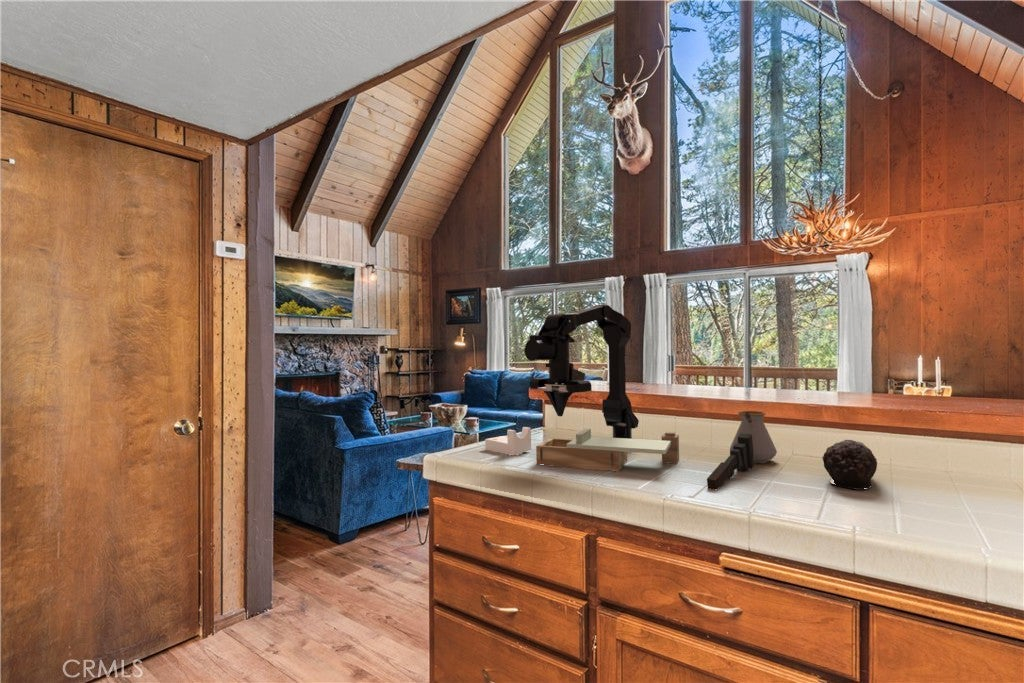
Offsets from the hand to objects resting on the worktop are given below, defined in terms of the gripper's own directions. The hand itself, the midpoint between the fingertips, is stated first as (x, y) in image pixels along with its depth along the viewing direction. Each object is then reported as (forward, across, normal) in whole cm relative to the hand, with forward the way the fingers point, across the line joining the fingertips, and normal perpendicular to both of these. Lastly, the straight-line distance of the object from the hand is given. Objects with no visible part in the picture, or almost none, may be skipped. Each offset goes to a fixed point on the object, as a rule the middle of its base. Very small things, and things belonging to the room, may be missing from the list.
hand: (560, 416), depth 145 cm
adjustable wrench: (+13, -40, -17) cm, 45 cm away
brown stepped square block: (+12, -21, -21) cm, 32 cm away
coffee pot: (+13, -38, -32) cm, 51 cm away
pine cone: (+13, -60, -32) cm, 69 cm away
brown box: (+12, -5, -3) cm, 14 cm away
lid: (+7, -14, -7) cm, 18 cm away
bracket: (+13, +21, +2) cm, 25 cm away
